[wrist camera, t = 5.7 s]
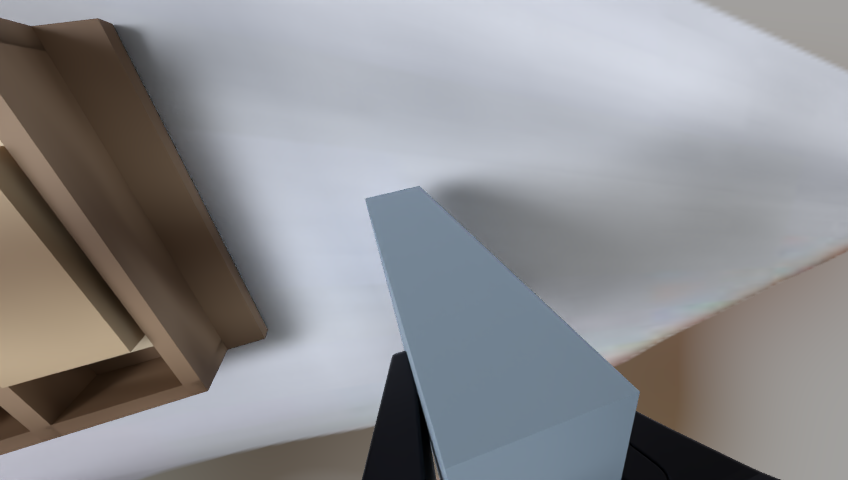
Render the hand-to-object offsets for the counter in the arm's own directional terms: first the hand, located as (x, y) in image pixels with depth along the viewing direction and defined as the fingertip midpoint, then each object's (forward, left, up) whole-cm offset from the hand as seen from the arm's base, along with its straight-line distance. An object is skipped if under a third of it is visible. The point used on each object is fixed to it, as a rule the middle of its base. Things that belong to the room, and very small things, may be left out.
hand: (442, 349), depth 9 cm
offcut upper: (+4, +11, -5) cm, 13 cm away
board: (0, 0, -4) cm, 4 cm away
